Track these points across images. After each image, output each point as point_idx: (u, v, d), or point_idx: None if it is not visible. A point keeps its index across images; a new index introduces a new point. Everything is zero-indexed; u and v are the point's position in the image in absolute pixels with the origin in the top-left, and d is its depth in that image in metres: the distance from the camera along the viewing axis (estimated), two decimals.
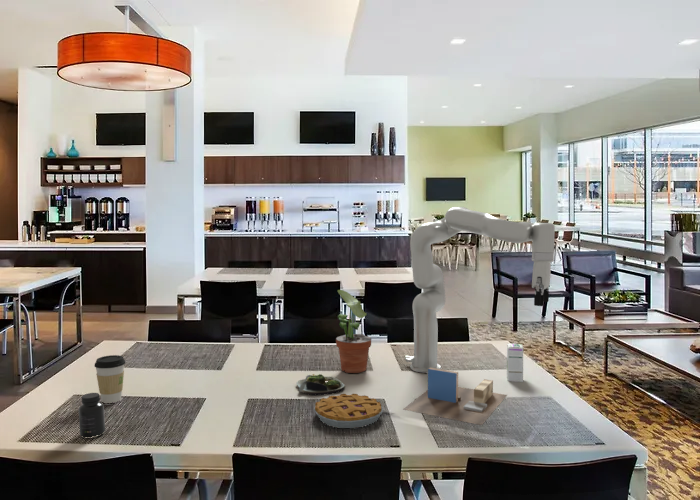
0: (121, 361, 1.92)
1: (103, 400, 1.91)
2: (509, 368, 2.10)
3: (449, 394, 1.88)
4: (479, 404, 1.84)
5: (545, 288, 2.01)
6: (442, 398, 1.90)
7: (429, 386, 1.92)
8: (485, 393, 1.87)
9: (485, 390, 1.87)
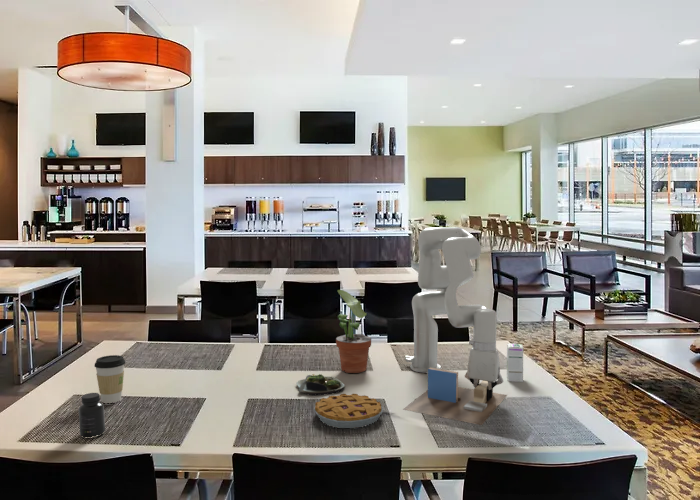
0: (121, 361, 1.92)
1: (103, 400, 1.91)
2: (509, 368, 2.10)
3: (449, 394, 1.88)
4: (479, 404, 1.84)
5: None
6: (442, 398, 1.90)
7: (429, 386, 1.92)
8: (485, 393, 1.88)
9: (485, 390, 1.87)
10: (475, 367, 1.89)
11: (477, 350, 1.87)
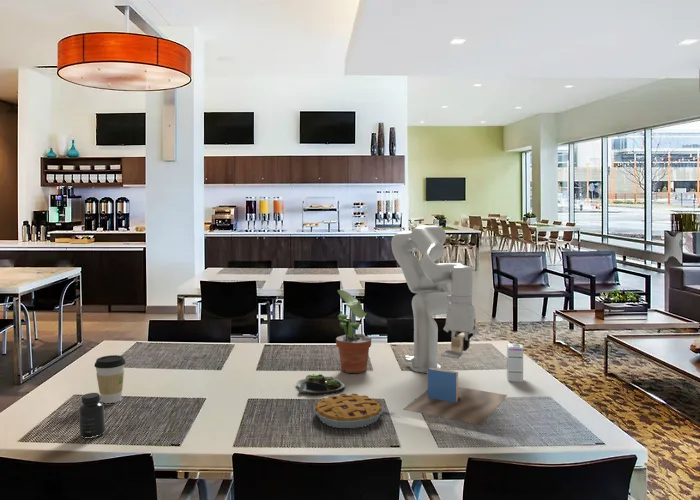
0: (121, 361, 1.92)
1: (103, 400, 1.91)
2: (509, 368, 2.10)
3: (449, 394, 1.88)
4: (456, 352, 1.98)
5: None
6: (442, 398, 1.90)
7: (429, 386, 1.92)
8: (462, 343, 2.02)
9: (462, 340, 2.02)
10: (453, 319, 2.03)
11: (454, 303, 2.01)
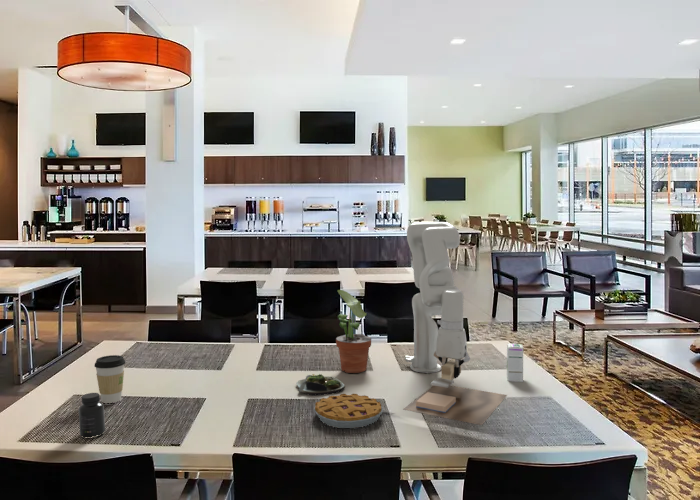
0: (121, 361, 1.92)
1: (103, 400, 1.91)
2: (509, 368, 2.10)
3: None
4: (446, 380, 1.90)
5: None
6: None
7: None
8: (452, 370, 1.94)
9: (452, 367, 1.94)
10: (443, 345, 1.95)
11: (444, 329, 1.94)
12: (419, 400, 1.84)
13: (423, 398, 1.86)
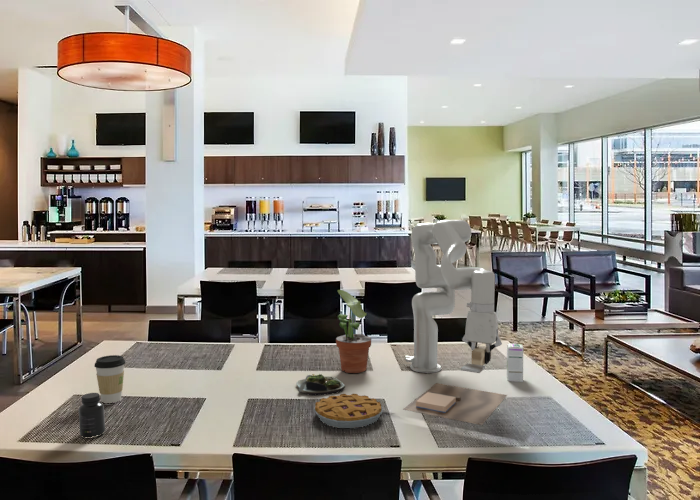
0: (121, 361, 1.92)
1: (103, 400, 1.91)
2: (509, 368, 2.10)
3: None
4: (477, 366, 1.80)
5: None
6: None
7: None
8: (483, 355, 1.84)
9: (483, 352, 1.84)
10: (473, 329, 1.85)
11: (475, 312, 1.83)
12: (419, 400, 1.84)
13: (423, 398, 1.86)
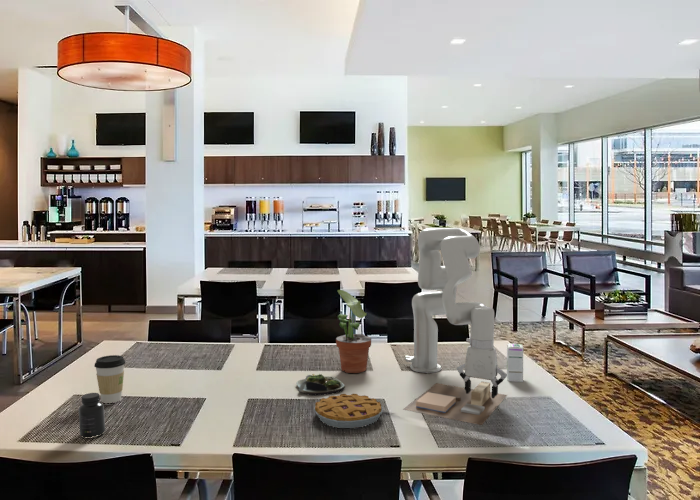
0: (121, 361, 1.92)
1: (103, 400, 1.91)
2: (509, 368, 2.10)
3: None
4: (476, 407, 1.81)
5: None
6: None
7: None
8: (482, 396, 1.85)
9: (482, 392, 1.85)
10: (473, 365, 1.86)
11: (474, 348, 1.84)
12: (419, 400, 1.84)
13: (423, 398, 1.86)
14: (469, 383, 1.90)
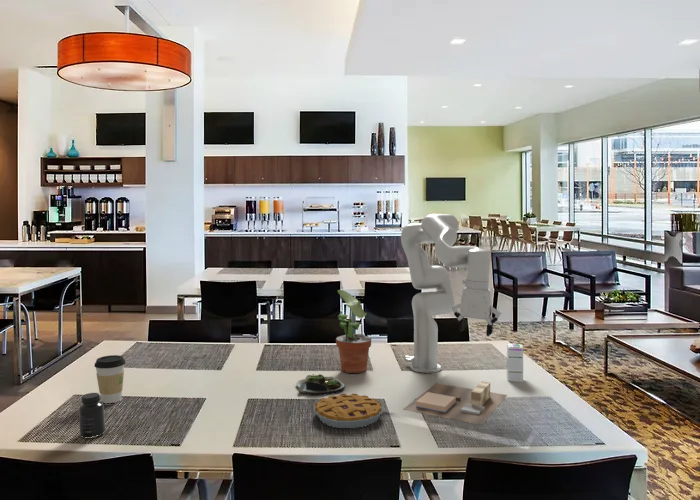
0: (121, 361, 1.92)
1: (103, 400, 1.91)
2: (509, 368, 2.10)
3: None
4: (476, 407, 1.81)
5: None
6: None
7: None
8: (482, 396, 1.85)
9: (482, 392, 1.85)
10: (468, 305, 1.93)
11: (470, 289, 1.92)
12: (419, 400, 1.84)
13: (423, 398, 1.86)
14: (463, 322, 1.98)
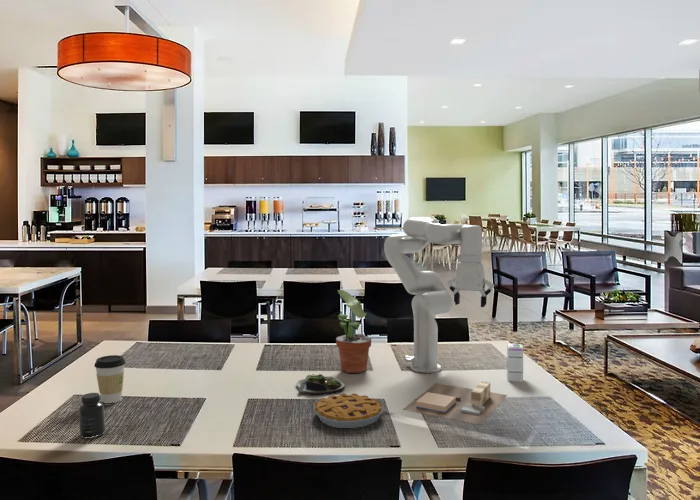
0: (121, 361, 1.92)
1: (103, 400, 1.91)
2: (509, 368, 2.10)
3: None
4: (476, 407, 1.81)
5: None
6: None
7: None
8: (482, 396, 1.85)
9: (482, 392, 1.85)
10: (462, 278, 2.04)
11: (464, 262, 2.03)
12: (419, 400, 1.84)
13: (423, 398, 1.86)
14: (458, 295, 2.08)
